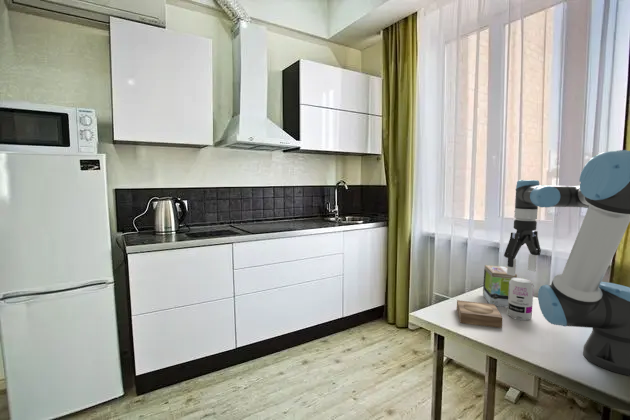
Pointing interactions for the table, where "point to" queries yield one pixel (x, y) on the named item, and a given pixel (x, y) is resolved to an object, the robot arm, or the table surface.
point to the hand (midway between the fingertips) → (521, 272)
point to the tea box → (496, 285)
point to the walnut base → (479, 314)
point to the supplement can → (520, 298)
